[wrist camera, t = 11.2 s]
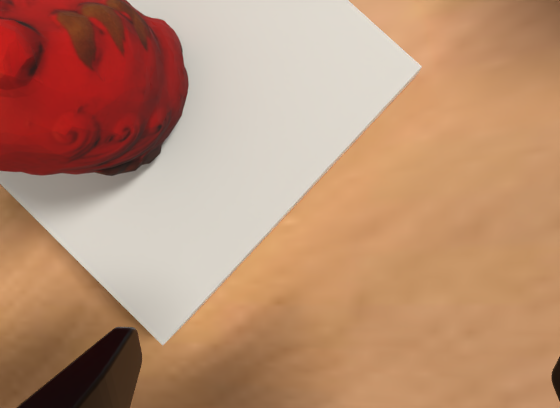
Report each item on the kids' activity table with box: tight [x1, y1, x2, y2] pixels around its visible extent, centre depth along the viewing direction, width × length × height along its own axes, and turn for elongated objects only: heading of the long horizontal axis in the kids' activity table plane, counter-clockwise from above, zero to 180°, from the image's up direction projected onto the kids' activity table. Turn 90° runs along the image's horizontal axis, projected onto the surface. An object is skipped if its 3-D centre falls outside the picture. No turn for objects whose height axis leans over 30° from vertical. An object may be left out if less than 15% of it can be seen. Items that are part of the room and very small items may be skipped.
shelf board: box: [0, 0, 422, 345], centre depth 19 cm, size 18×18×6 cm
